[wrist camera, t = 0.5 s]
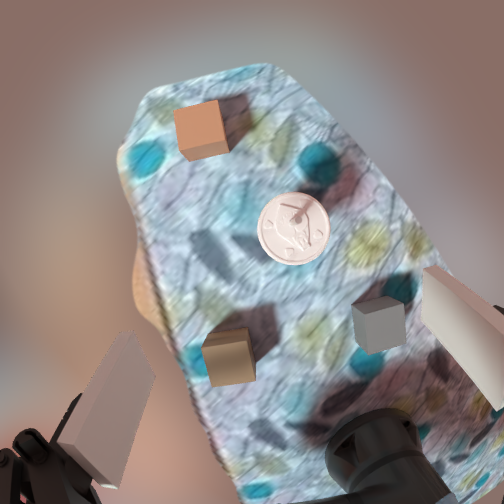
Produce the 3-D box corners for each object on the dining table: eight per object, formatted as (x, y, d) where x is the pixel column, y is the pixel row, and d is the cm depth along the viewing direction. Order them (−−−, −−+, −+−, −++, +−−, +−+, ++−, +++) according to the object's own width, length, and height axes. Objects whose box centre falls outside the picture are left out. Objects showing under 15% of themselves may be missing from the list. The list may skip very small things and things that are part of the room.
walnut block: (255, 363, 36) (255, 380, 31) (217, 369, 36) (211, 387, 31) (247, 326, 36) (246, 340, 31) (208, 333, 36) (200, 347, 31)
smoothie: (293, 193, 35) (316, 166, 21) (321, 239, 35) (361, 242, 21) (246, 221, 35) (240, 211, 21) (275, 268, 35) (287, 288, 21)
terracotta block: (229, 152, 35) (225, 139, 30) (189, 161, 35) (179, 150, 30) (222, 116, 35) (217, 99, 30) (183, 125, 35) (173, 110, 30)
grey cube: (389, 331, 36) (406, 343, 31) (355, 341, 36) (368, 355, 31) (386, 295, 35) (403, 303, 30) (351, 304, 36) (364, 314, 31)
